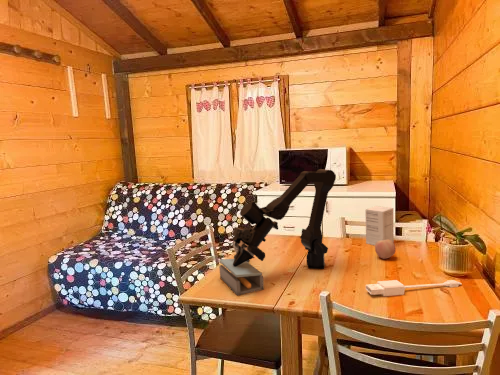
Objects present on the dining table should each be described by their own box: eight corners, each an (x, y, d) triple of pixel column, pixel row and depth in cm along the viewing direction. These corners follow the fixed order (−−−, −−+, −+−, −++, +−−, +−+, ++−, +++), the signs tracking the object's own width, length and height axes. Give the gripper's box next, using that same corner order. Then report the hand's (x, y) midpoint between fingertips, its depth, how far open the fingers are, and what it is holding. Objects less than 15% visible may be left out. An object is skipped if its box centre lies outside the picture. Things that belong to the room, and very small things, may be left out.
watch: (232, 264, 152) (230, 239, 151) (239, 258, 160) (237, 234, 158) (244, 265, 150) (243, 240, 149) (251, 259, 158) (249, 234, 156)
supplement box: (376, 239, 176) (376, 205, 174) (394, 242, 169) (394, 207, 166) (365, 243, 170) (364, 208, 168) (383, 247, 163) (383, 211, 160)
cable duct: (244, 272, 142) (243, 260, 141) (263, 289, 126) (262, 275, 125) (220, 278, 138) (219, 265, 137) (237, 295, 122) (236, 281, 121)
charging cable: (465, 291, 118) (465, 281, 118) (371, 297, 114) (372, 287, 114) (454, 284, 123) (455, 275, 123) (365, 291, 119) (365, 281, 119)
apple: (392, 254, 153) (392, 236, 151) (398, 261, 145) (397, 242, 144) (373, 255, 153) (373, 237, 152) (377, 261, 146) (377, 242, 145)
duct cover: (242, 260, 141) (242, 258, 141) (261, 275, 125) (261, 273, 125) (219, 261, 137) (219, 259, 137) (236, 277, 121) (236, 274, 121)
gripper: (235, 214, 138) (210, 246, 135) (255, 224, 121) (226, 261, 118) (255, 231, 142) (230, 262, 140) (277, 242, 125) (249, 279, 123)
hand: (233, 265), depth 130 cm, fingers closed, pressing on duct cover
